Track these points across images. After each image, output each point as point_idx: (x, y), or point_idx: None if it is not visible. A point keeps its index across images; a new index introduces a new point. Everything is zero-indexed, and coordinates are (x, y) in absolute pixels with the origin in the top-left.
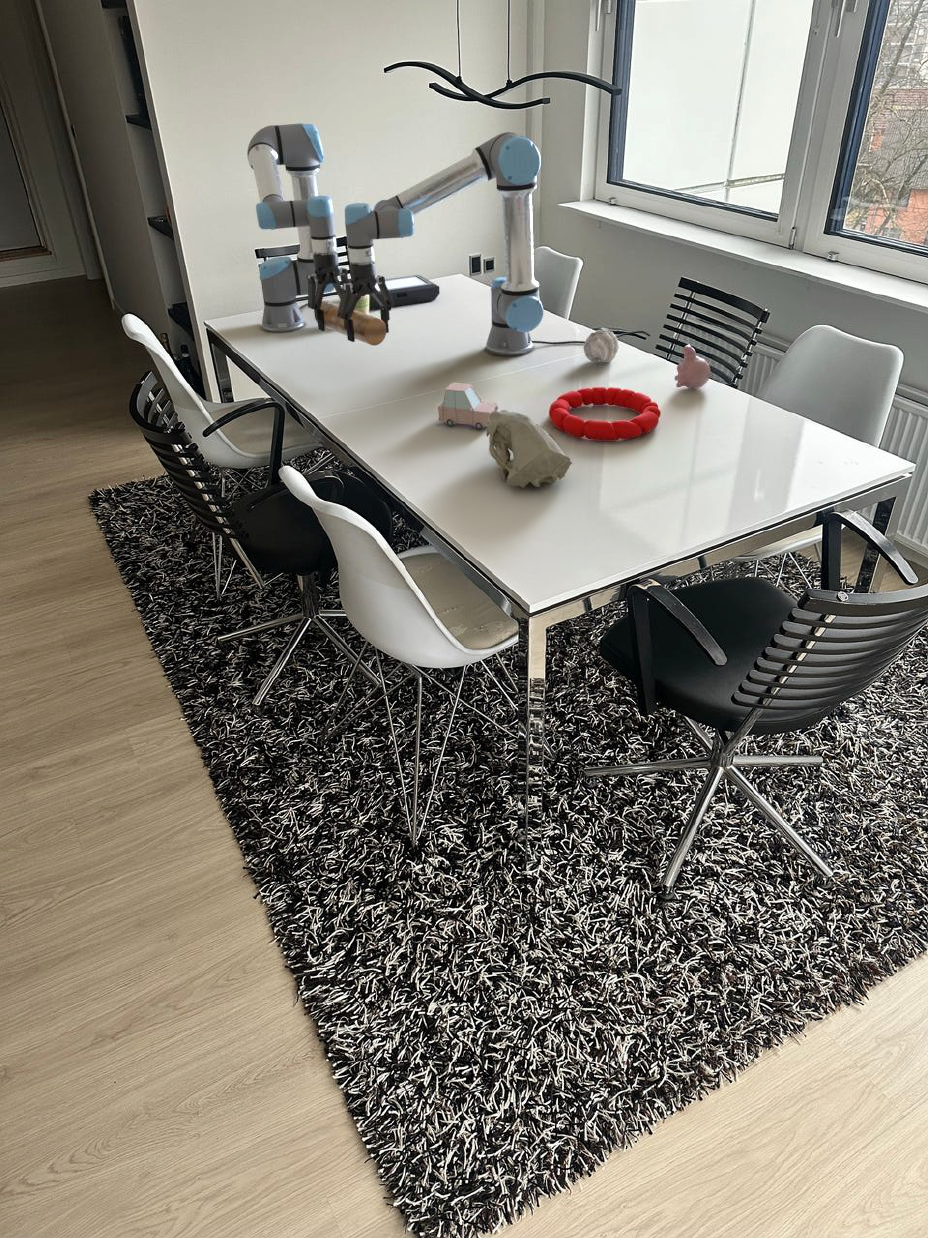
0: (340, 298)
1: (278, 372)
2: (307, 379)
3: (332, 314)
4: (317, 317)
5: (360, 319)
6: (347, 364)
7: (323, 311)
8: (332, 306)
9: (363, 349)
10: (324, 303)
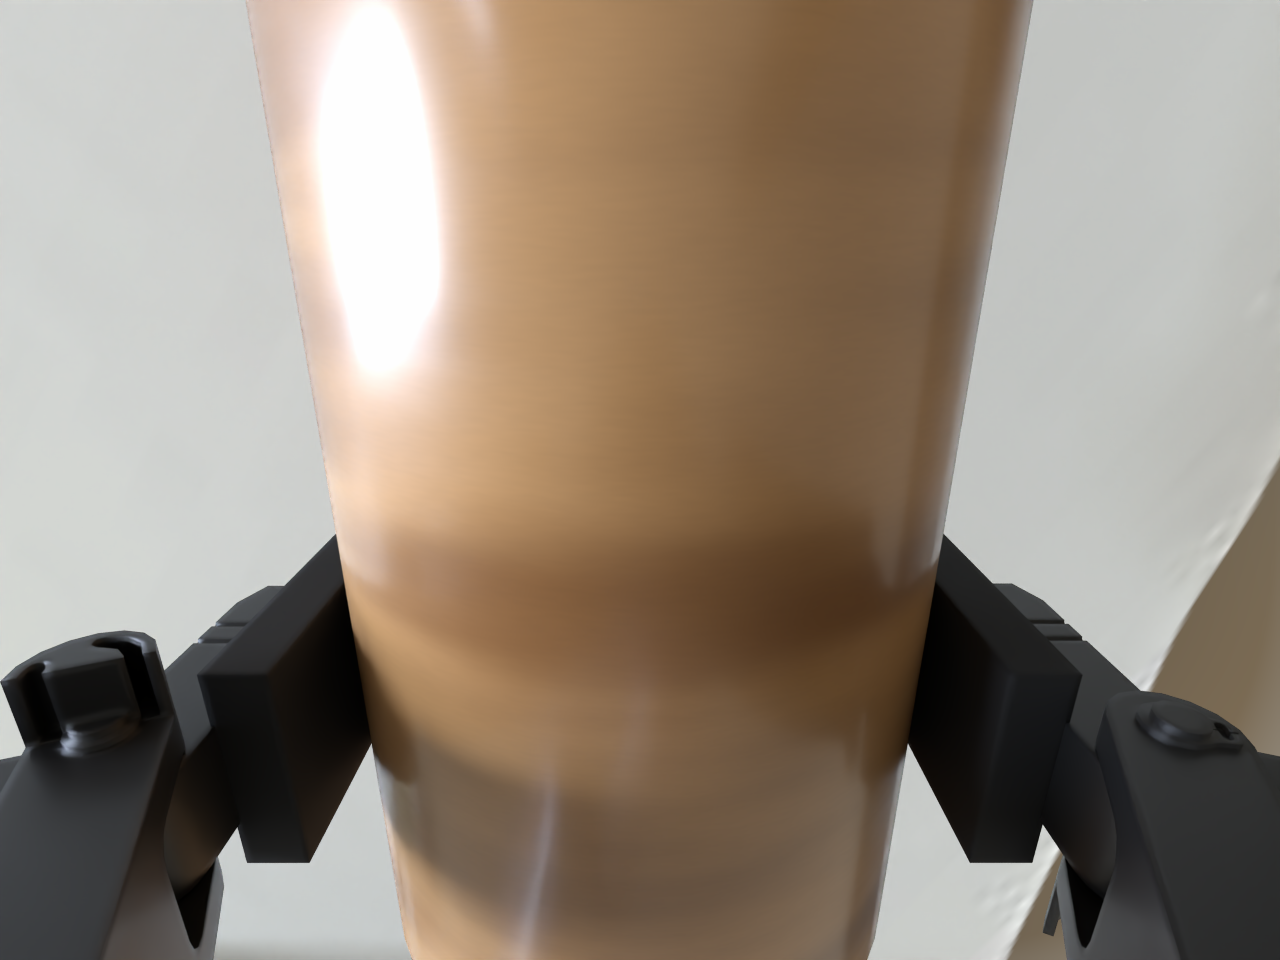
0: (203, 944)
1: (1136, 527)
2: (1133, 179)
3: (990, 236)
4: (1057, 617)
5: None
6: None
7: (914, 683)
8: (784, 576)
9: (282, 518)
10: (749, 949)
